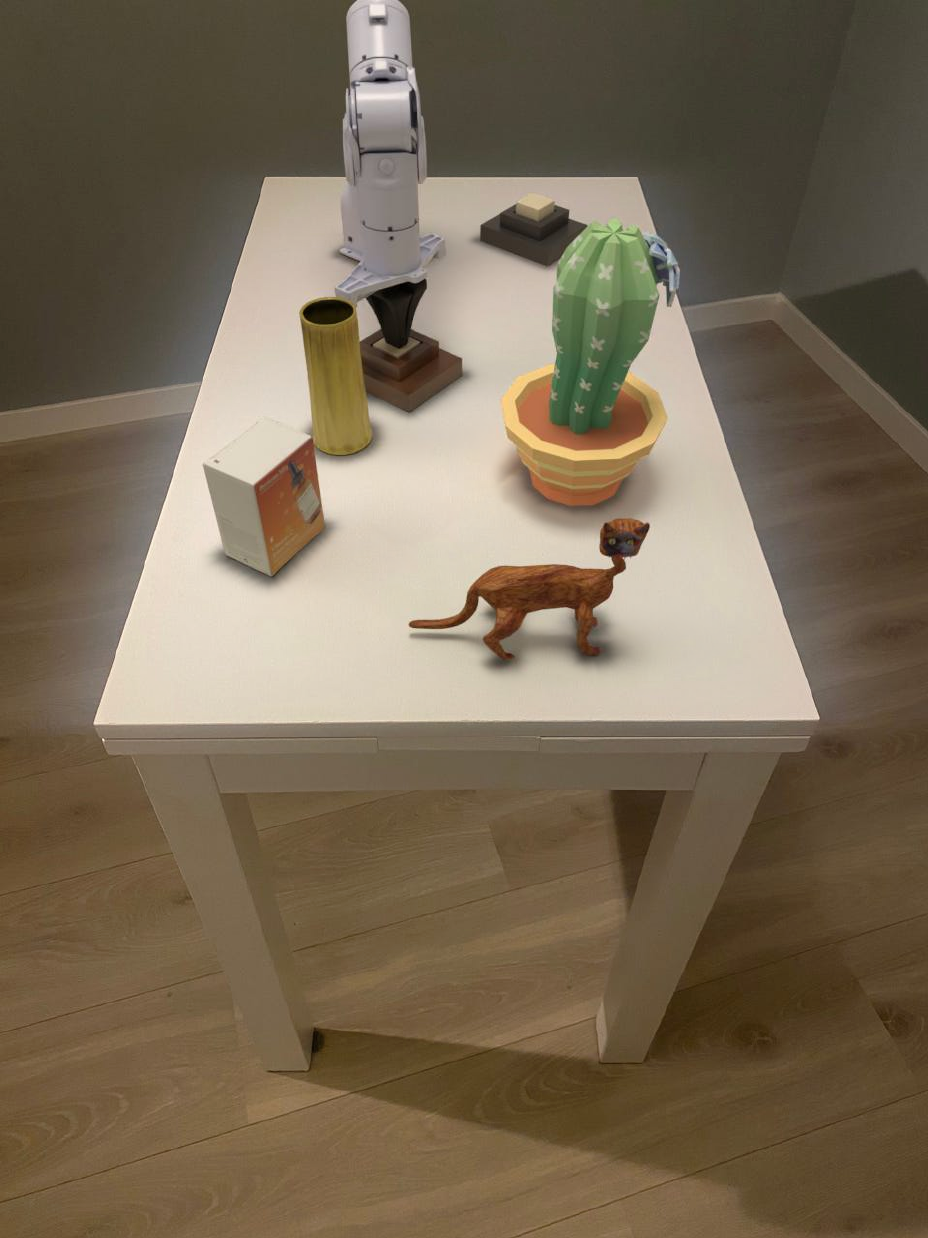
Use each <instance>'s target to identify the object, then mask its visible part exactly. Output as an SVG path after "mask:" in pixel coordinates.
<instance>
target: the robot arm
mask: <svg viewBox="0 0 928 1238" xmlns="http://www.w3.org/2000/svg"><path fill="white" fill-rule="evenodd" d="M410 18H411V17H410V14H409V11H408V9H407V8H406V7H405V5H404V4H403V3H402V2H401V1H400V0H355V2H354V3H352V5H351V6H350V7H349V9H348V10H347V13H346V17H345V22H346V38H347V39H346V40H347V57H348V59H347V60H348V71H349V72H348V75H349V88H346V89H345V113H344V118H342V147H343V163H344V172H345V180H346V183H345V184H344V187H343V189H342V192H341V197H340V213H341V223H342V224H341V225H342V235H343V244H344V247H342V248H340V249H339V251H340V254H342V255H344V256H346V257H349V258H351V259H353V260H356V261H357V262H358V261H359V262H358V263H357V264H356V266H355V267H353V269H352V270H351V272H350V273H348V275H346V278H344V279H343V281H341V282H340V283H338V284H337V285H335V286H334V294H335V296H334V297H339V298H344V299H347V300H349V301H351V302H352V303H353V304H354V305H355V306H356V309H357V308H358V303H359V302H361V301H363V300H364V299H365V300H366V301H367V303H368V304H369V306H370V307H371V309H372V311H373V313H374V315H375V317H376V319H377V322H378V325H379V327H380V329H381V330H382V332H383V335H384V338H385V342H386V343H387V344H389V345H392V346H394V347H396V348H398V349H400V348H402V347H403V346H405V345H406V344H407V343H408V339H409V335H410V330H411V329H412V326H413V321H414V318H415V314H416V311H417V309H418V306H419V304H420V301H421V299H422V297H423V296H424V294H425V292H426V291H427V289H428V279H427V278H428V270H427V269H426V267H427V265H428V264H429V263H430V262H431V260H433V259H437V260H441V259H442V258H444V257H446V253H447V252H446V238H445V237H443V236H440V235H438V234H435V233H432V232H430V233H428V234H426V235H424V236H422V237H421V236H420V208H419V185H423V184H424V182H425V181H426V179H427V177H428V173H427V172H428V167H427V166H428V165H427V164H428V162H427V161H428V159H427V140H426V139H427V138H426V132H425V121H424V116H422V111H421V95H420V90H419V86H418V81H417V77H416V68H415V67H414V66H413V52H412V37H411V36H412V35H411V19H410Z"/></svg>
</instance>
